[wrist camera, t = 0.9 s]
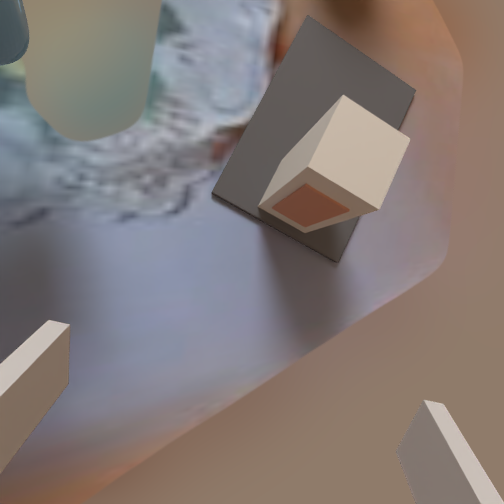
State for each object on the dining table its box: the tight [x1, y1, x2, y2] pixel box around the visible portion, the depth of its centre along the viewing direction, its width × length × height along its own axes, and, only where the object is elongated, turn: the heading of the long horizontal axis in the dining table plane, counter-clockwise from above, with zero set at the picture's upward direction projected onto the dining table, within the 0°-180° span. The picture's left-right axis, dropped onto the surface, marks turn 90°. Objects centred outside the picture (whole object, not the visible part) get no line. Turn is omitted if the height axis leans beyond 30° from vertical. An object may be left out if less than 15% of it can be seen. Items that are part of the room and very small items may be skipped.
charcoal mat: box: [212, 15, 416, 262], centre depth 39 cm, size 24×16×1 cm, turn 153°
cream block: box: [258, 95, 410, 233], centre depth 31 cm, size 6×6×14 cm
